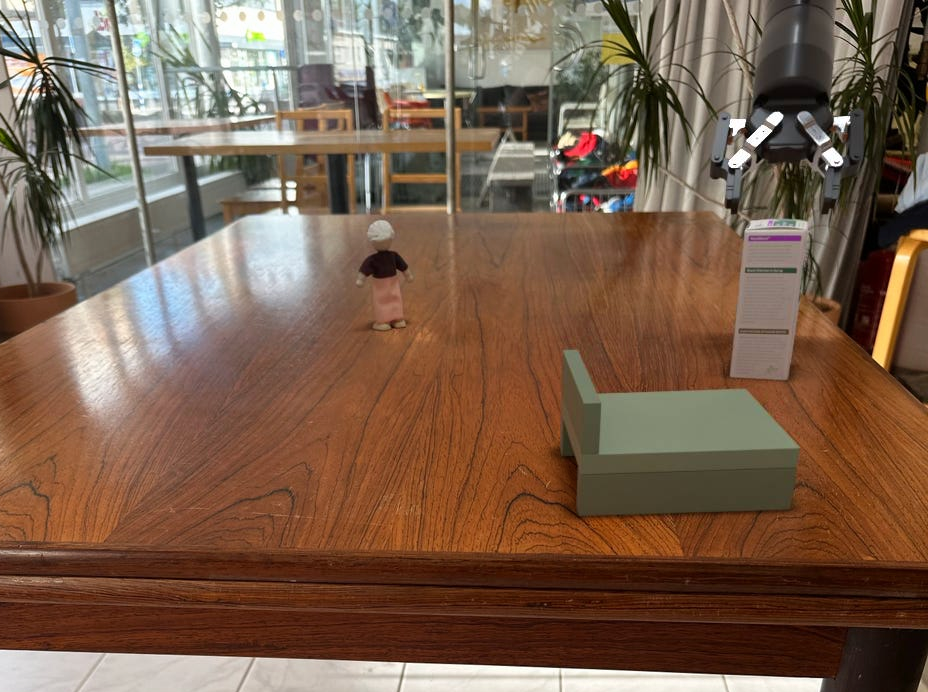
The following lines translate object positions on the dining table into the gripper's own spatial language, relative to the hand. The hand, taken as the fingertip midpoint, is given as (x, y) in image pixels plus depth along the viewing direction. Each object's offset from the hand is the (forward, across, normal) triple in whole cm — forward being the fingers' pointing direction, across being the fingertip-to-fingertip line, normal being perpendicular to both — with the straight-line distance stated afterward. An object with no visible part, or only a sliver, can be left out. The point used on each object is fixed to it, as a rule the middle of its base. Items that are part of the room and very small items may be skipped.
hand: (779, 209), depth 92 cm
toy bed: (+35, -7, -14) cm, 39 cm away
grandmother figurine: (+3, -46, +19) cm, 50 cm away
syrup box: (+14, 0, +8) cm, 16 cm away
